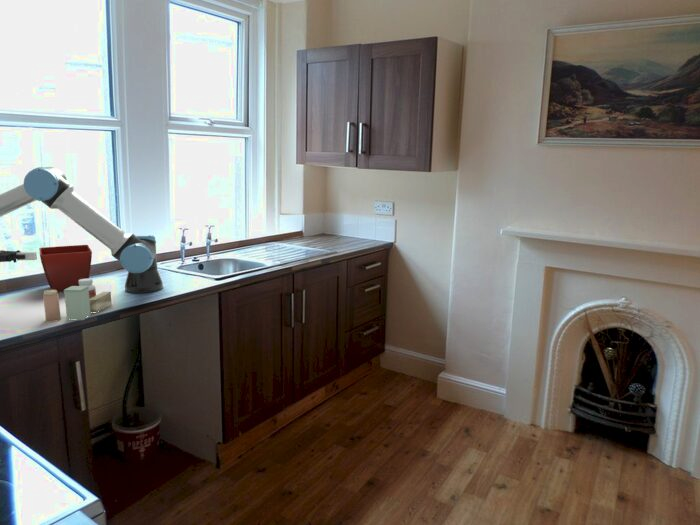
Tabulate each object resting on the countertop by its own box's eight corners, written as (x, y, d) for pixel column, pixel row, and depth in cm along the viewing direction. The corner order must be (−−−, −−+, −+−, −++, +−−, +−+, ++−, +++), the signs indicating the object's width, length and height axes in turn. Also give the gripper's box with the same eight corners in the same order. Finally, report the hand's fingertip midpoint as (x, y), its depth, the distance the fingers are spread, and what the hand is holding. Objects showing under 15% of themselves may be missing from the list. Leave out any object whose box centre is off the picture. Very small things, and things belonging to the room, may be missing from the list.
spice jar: (60, 316, 196) (57, 288, 194) (61, 320, 192) (58, 291, 190) (45, 318, 194) (42, 290, 192) (45, 322, 190) (42, 293, 188)
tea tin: (66, 320, 192) (63, 289, 190) (75, 315, 198) (72, 285, 196) (83, 320, 192) (80, 290, 190) (91, 315, 198) (88, 286, 196)
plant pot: (95, 290, 234) (92, 250, 231) (44, 295, 225) (39, 254, 221) (91, 281, 250) (87, 244, 247) (43, 285, 241) (38, 247, 238)
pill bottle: (99, 309, 206) (96, 280, 203) (81, 312, 202) (78, 282, 200) (94, 305, 210) (92, 277, 208) (77, 308, 206) (74, 279, 204)
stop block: (88, 313, 200) (87, 299, 199) (103, 304, 212) (102, 291, 211) (97, 313, 200) (95, 299, 199) (111, 304, 212) (110, 291, 211)
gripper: (-15, 263, 210) (46, 262, 210) (-39, 270, 197) (26, 269, 197) (-18, 243, 209) (44, 242, 208) (-43, 250, 196) (23, 249, 195)
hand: (35, 256), depth 202 cm, fingers closed
